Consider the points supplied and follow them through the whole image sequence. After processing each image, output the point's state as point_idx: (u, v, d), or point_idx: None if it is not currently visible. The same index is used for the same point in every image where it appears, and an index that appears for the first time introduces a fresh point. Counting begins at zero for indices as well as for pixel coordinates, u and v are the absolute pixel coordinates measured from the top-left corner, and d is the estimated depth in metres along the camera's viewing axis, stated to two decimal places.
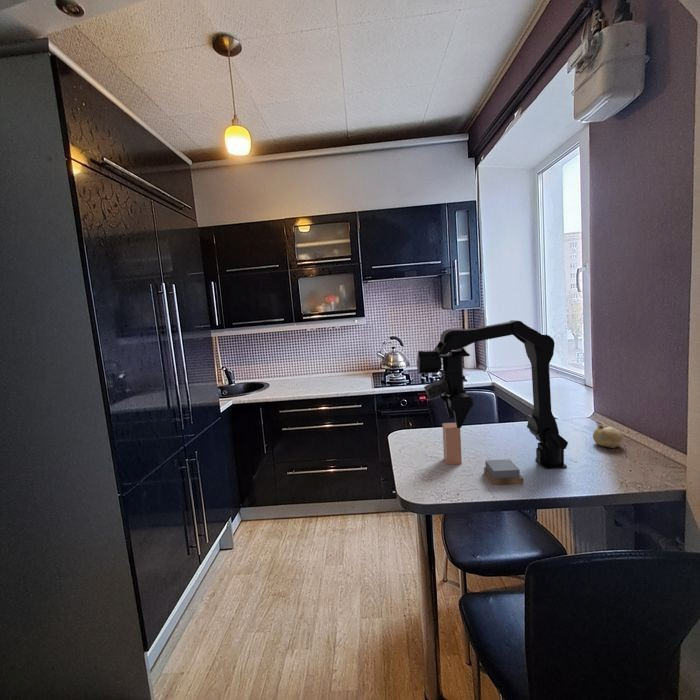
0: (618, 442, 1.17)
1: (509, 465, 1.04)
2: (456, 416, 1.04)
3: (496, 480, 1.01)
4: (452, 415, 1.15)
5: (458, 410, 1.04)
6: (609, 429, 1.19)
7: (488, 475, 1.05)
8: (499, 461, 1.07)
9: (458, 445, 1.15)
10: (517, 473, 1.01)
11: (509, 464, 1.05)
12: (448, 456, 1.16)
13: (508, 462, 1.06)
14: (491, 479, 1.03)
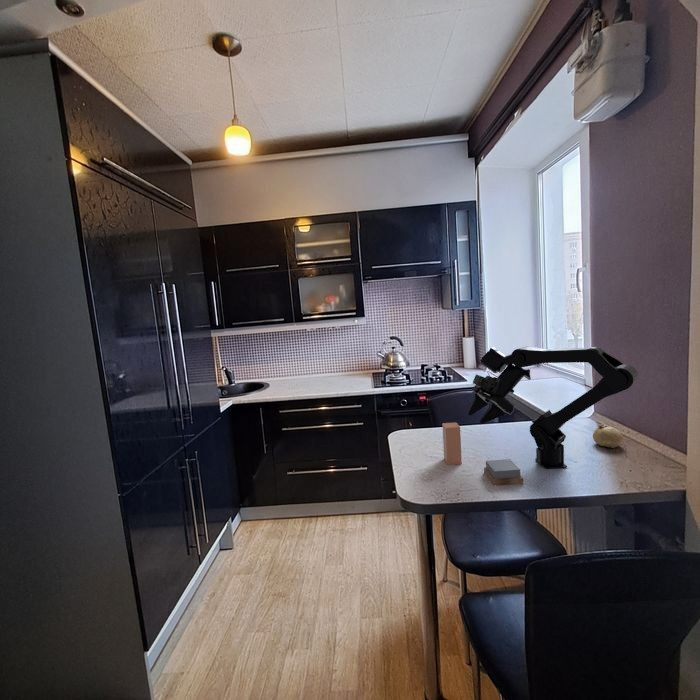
0: (618, 442, 1.17)
1: (510, 465, 1.04)
2: (488, 412, 1.11)
3: (496, 480, 1.01)
4: (471, 413, 1.21)
5: (493, 409, 1.11)
6: (609, 429, 1.19)
7: (488, 475, 1.05)
8: (499, 461, 1.07)
9: (458, 445, 1.15)
10: (518, 473, 1.01)
11: (510, 464, 1.05)
12: (448, 456, 1.16)
13: (509, 462, 1.06)
14: (491, 480, 1.03)
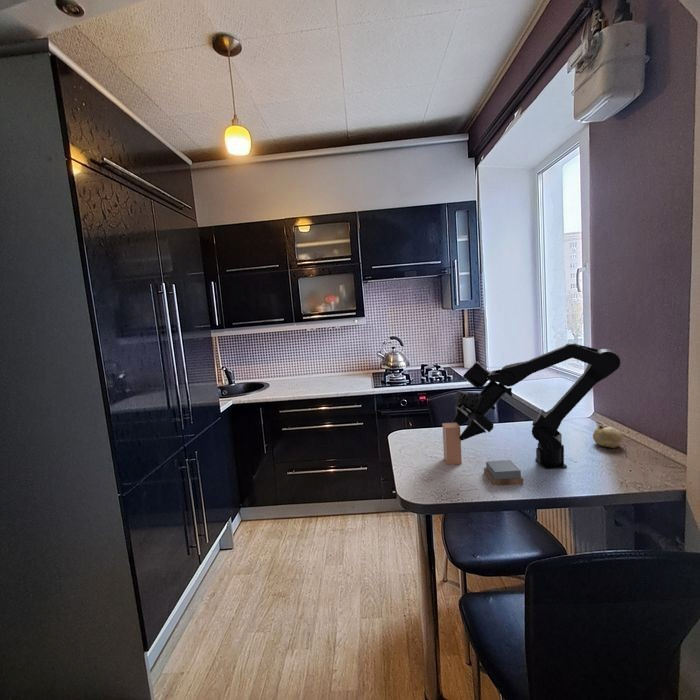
0: (618, 442, 1.17)
1: (510, 465, 1.04)
2: (467, 429, 1.11)
3: (496, 480, 1.01)
4: None
5: (473, 426, 1.11)
6: (609, 429, 1.19)
7: (488, 475, 1.05)
8: (499, 462, 1.06)
9: (458, 445, 1.15)
10: (518, 474, 1.01)
11: (510, 464, 1.04)
12: (448, 456, 1.16)
13: (509, 463, 1.05)
14: (491, 480, 1.03)
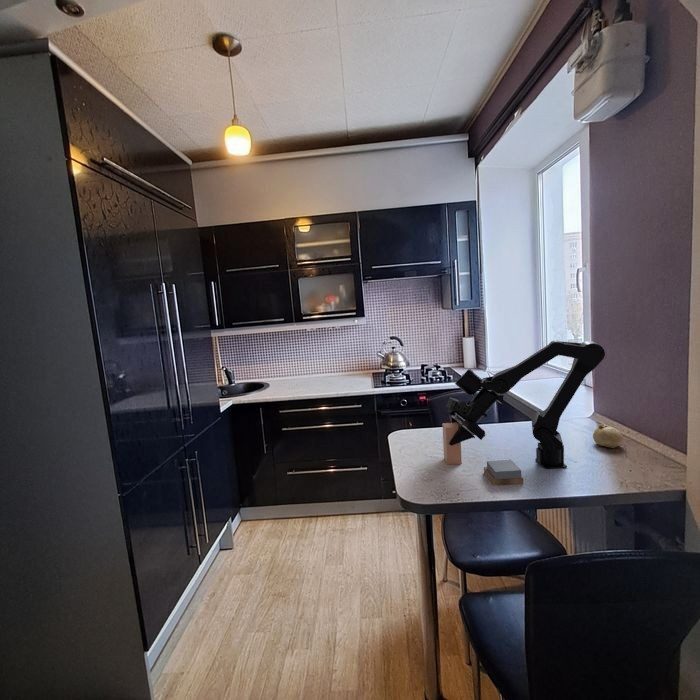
0: (618, 442, 1.17)
1: (511, 465, 1.04)
2: (457, 435, 1.13)
3: (496, 480, 1.01)
4: None
5: (462, 432, 1.13)
6: (609, 429, 1.19)
7: (488, 475, 1.05)
8: (500, 462, 1.06)
9: (458, 445, 1.15)
10: (519, 473, 1.01)
11: (511, 464, 1.04)
12: (448, 456, 1.16)
13: (510, 463, 1.05)
14: (491, 479, 1.03)
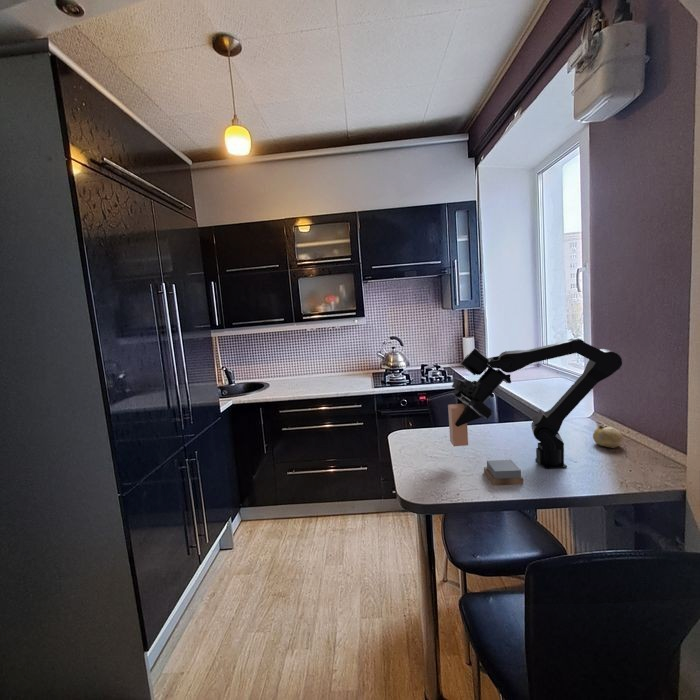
0: (618, 442, 1.17)
1: (511, 465, 1.04)
2: (463, 415, 1.11)
3: (496, 480, 1.01)
4: None
5: (468, 412, 1.11)
6: (609, 429, 1.19)
7: (488, 475, 1.05)
8: (500, 462, 1.06)
9: (464, 426, 1.13)
10: (518, 474, 1.01)
11: (511, 464, 1.04)
12: (454, 437, 1.13)
13: (510, 463, 1.05)
14: (491, 480, 1.03)
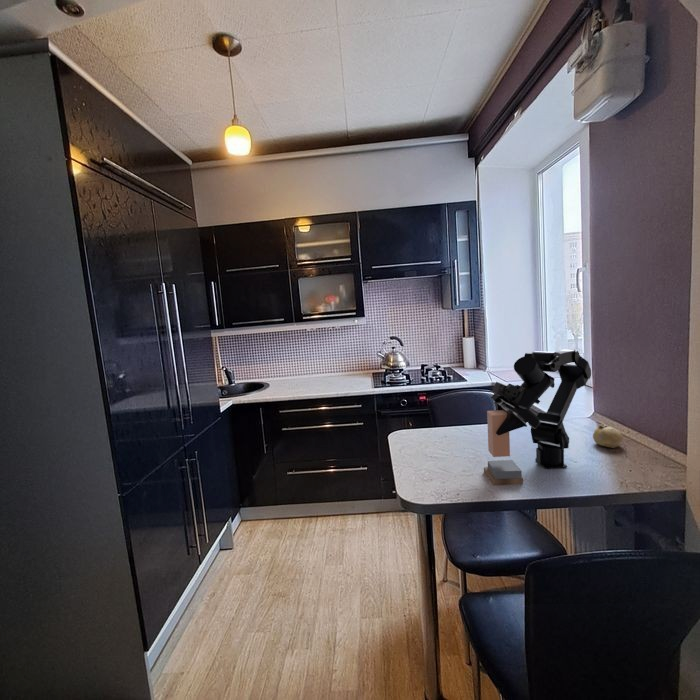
0: (618, 442, 1.17)
1: (511, 465, 1.04)
2: (506, 423, 1.00)
3: (496, 480, 1.01)
4: None
5: (511, 420, 1.00)
6: (609, 429, 1.19)
7: (488, 475, 1.05)
8: (501, 462, 1.06)
9: (506, 435, 1.02)
10: (519, 474, 1.01)
11: (512, 464, 1.04)
12: (495, 447, 1.03)
13: (511, 463, 1.05)
14: (491, 480, 1.03)
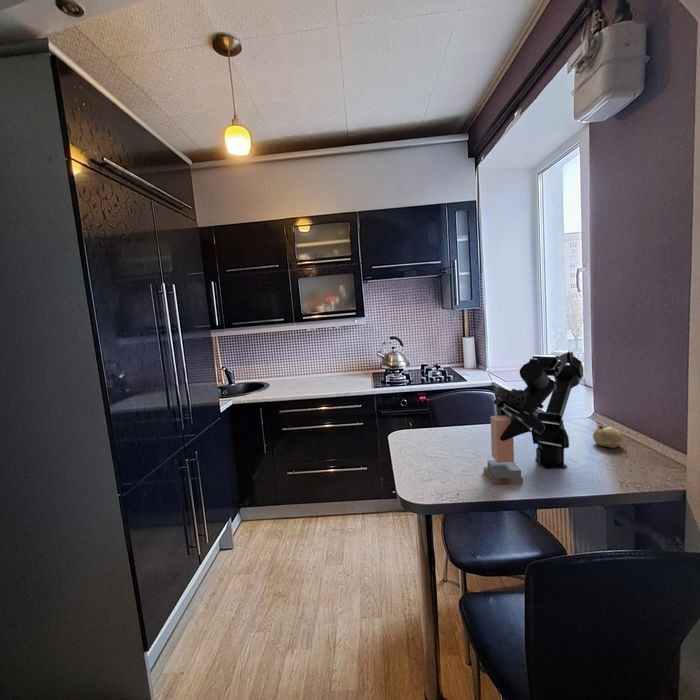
0: (618, 442, 1.17)
1: (511, 465, 1.04)
2: (510, 429, 0.99)
3: (496, 480, 1.01)
4: None
5: (516, 425, 1.00)
6: (609, 429, 1.19)
7: (488, 475, 1.05)
8: None
9: (510, 440, 1.01)
10: (519, 474, 1.01)
11: (511, 464, 1.04)
12: (499, 453, 1.02)
13: (510, 463, 1.05)
14: (490, 479, 1.03)
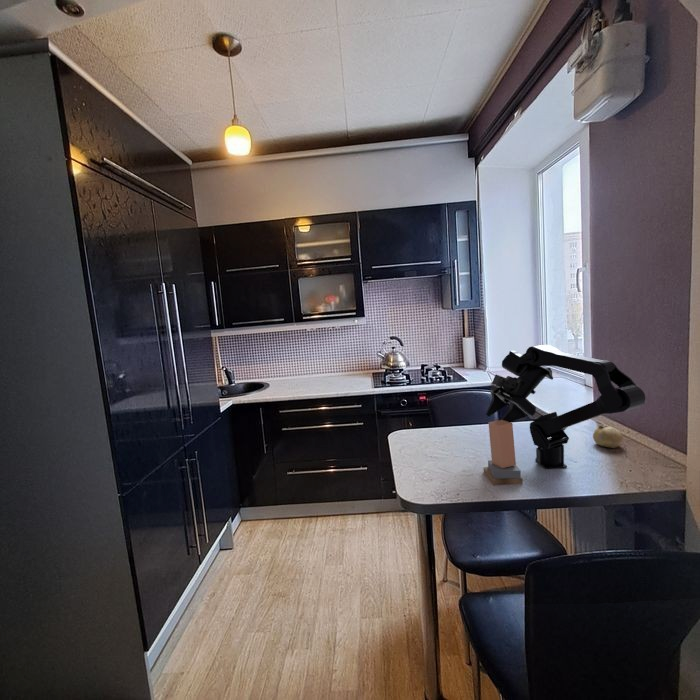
0: (618, 442, 1.17)
1: None
2: (508, 414, 1.08)
3: (495, 480, 1.01)
4: (490, 414, 1.18)
5: (514, 411, 1.08)
6: (609, 429, 1.19)
7: (487, 475, 1.05)
8: None
9: (511, 444, 1.03)
10: (518, 474, 1.01)
11: None
12: (503, 458, 1.02)
13: None
14: (490, 480, 1.03)
